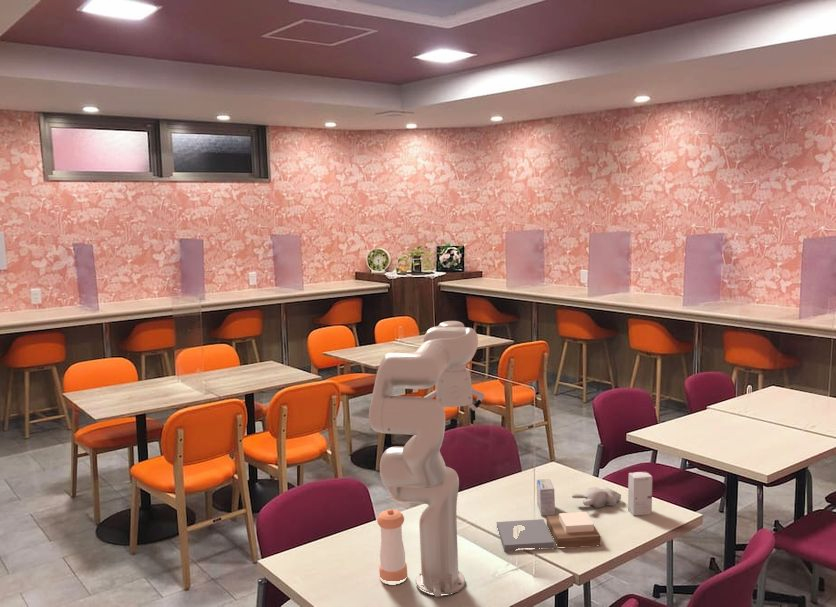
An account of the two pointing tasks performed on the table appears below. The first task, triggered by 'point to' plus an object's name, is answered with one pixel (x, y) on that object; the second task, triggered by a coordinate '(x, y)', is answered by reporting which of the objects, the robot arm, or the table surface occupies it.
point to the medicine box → (545, 497)
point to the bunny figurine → (599, 497)
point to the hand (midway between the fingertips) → (454, 424)
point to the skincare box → (640, 493)
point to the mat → (525, 535)
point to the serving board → (571, 535)
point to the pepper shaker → (392, 546)
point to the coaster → (576, 522)
